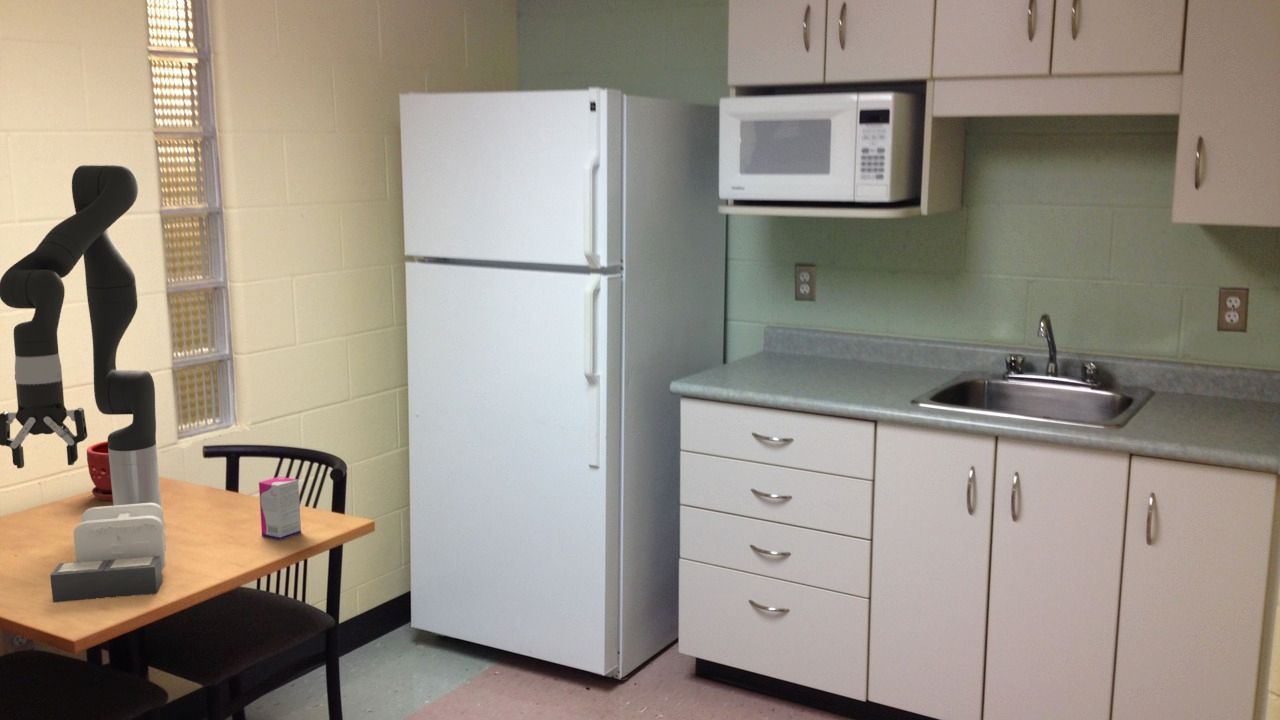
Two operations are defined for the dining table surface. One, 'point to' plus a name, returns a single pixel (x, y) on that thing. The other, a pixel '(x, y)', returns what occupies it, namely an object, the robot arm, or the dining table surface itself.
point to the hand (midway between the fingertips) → (46, 465)
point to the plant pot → (100, 470)
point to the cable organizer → (121, 533)
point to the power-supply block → (106, 578)
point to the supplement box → (280, 508)
